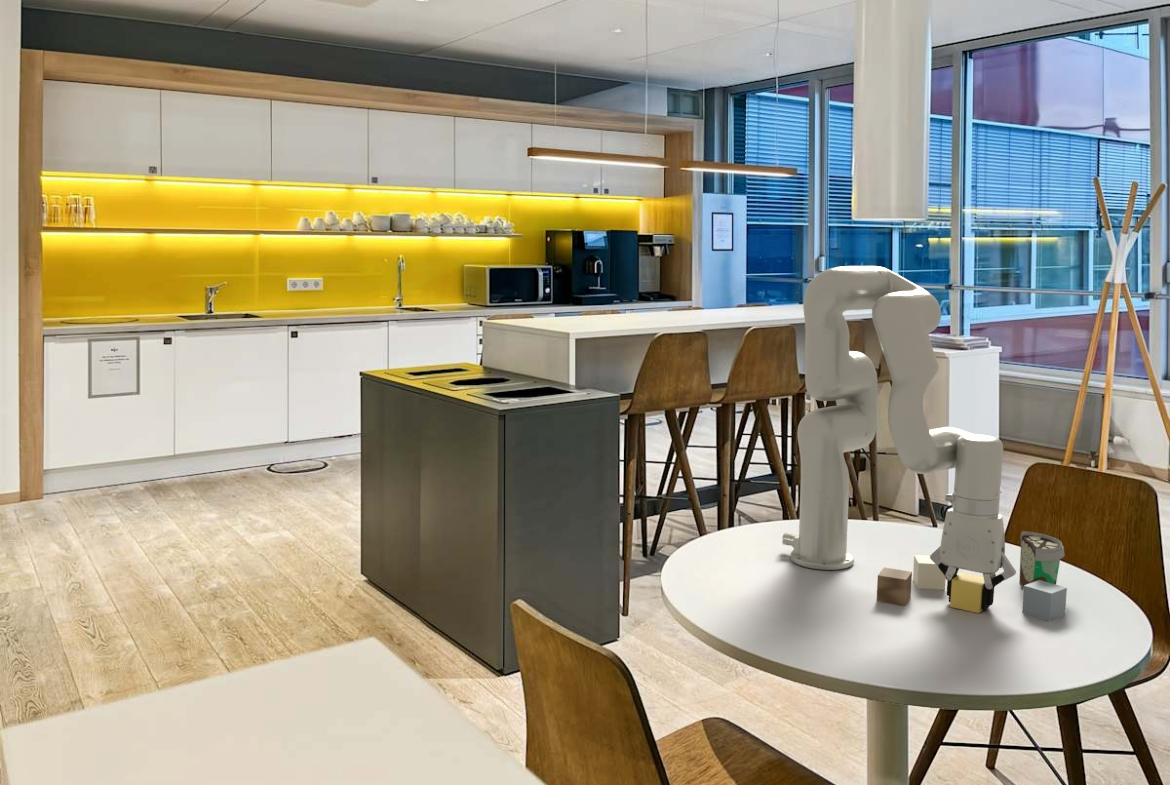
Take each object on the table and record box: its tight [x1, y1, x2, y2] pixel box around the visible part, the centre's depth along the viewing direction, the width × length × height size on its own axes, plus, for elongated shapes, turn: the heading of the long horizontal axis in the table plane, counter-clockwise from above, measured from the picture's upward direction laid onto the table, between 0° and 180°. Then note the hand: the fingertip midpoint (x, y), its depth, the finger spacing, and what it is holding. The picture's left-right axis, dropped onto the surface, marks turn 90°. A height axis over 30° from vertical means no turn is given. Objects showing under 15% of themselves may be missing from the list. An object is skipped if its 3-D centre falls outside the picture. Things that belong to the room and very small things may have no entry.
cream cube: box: [912, 554, 947, 591], centre depth 187 cm, size 5×5×5 cm
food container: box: [1018, 531, 1066, 590], centre depth 182 cm, size 12×6×10 cm, turn 168°
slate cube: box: [1021, 580, 1068, 622], centre depth 172 cm, size 5×5×5 cm
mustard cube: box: [949, 572, 985, 614], centre depth 175 cm, size 5×5×5 cm
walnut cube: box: [876, 567, 913, 607], centre depth 179 cm, size 5×5×5 cm
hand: (969, 603), depth 175 cm, fingers closed on mustard cube, 5 cm apart
